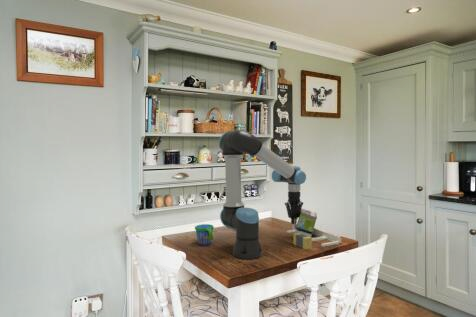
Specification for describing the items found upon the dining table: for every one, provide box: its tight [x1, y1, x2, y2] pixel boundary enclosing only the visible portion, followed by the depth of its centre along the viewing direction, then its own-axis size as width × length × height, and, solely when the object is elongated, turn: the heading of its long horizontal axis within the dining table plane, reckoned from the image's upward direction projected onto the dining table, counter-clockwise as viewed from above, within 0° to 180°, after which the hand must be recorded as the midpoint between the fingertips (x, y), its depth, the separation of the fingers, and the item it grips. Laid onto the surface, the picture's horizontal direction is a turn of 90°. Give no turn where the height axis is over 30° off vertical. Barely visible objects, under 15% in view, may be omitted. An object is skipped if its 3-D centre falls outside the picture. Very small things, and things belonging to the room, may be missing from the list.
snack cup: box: [194, 223, 215, 246], centre depth 184 cm, size 16×11×10 cm
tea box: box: [294, 208, 318, 237], centre depth 197 cm, size 15×10×15 cm, turn 167°
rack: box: [286, 227, 342, 247], centre depth 195 cm, size 14×35×4 cm, turn 26°
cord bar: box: [293, 233, 313, 250], centre depth 177 cm, size 4×11×6 cm, turn 26°
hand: (293, 229), depth 196 cm, fingers closed
